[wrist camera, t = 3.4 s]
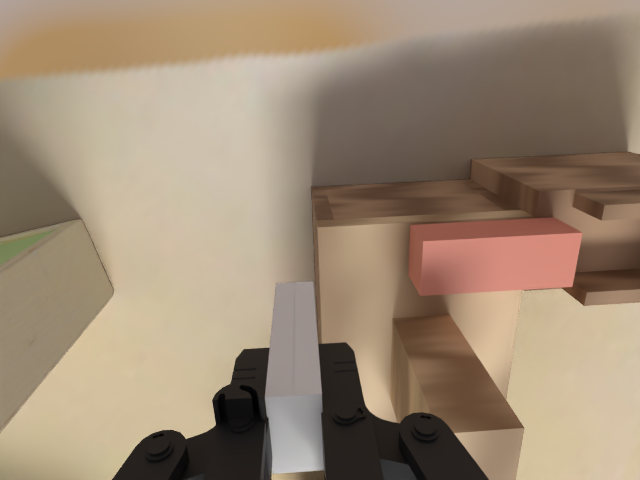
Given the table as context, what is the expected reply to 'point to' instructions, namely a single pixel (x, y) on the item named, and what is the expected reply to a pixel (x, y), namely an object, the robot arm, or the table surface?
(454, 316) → the lid
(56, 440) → the table surface
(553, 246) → the pink rectangular block
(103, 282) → the toy refrigerator
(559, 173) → the brown wooden open box
